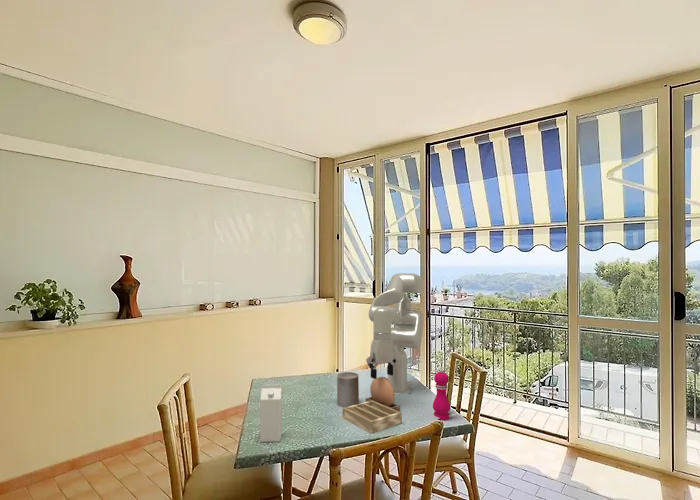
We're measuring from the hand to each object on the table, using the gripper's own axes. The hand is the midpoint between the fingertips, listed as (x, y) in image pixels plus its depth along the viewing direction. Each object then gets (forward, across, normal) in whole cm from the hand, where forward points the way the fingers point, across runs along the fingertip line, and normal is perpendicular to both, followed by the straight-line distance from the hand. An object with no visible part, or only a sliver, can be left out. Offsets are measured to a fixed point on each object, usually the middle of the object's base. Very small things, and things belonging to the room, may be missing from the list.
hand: (382, 376), depth 173 cm
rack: (+15, +12, +8) cm, 21 cm away
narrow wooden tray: (+15, -1, 0) cm, 15 cm away
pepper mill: (+15, -15, +20) cm, 29 cm away
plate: (+14, -1, 0) cm, 14 cm away
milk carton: (+16, +50, -4) cm, 53 cm away
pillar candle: (+15, +8, -14) cm, 22 cm away
